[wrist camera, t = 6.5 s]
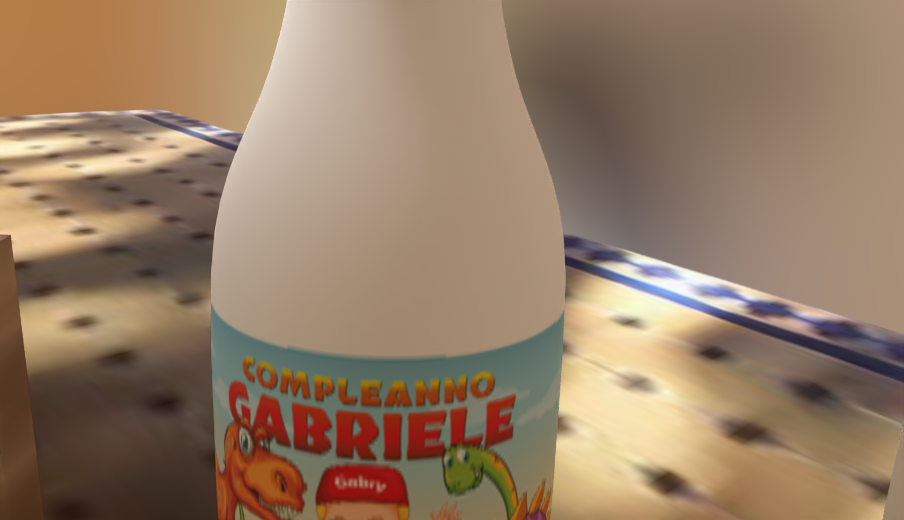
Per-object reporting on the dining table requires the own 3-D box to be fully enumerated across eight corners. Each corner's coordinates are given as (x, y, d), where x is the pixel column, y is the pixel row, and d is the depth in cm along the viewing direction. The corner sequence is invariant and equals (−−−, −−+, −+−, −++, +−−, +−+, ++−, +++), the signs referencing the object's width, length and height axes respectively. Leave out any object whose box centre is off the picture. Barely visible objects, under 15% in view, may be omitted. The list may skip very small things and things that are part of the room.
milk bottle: (234, 602, 25) (200, -159, 19) (494, 576, 26) (537, -135, 20) (218, 855, 17) (155, -251, 12) (577, 799, 19) (682, -204, 13)
